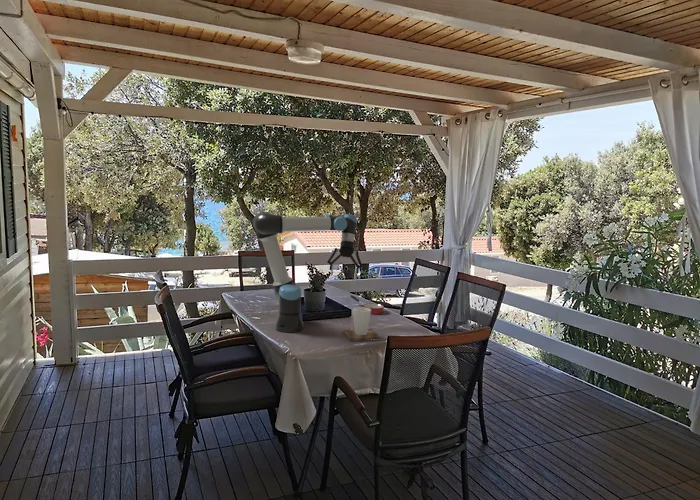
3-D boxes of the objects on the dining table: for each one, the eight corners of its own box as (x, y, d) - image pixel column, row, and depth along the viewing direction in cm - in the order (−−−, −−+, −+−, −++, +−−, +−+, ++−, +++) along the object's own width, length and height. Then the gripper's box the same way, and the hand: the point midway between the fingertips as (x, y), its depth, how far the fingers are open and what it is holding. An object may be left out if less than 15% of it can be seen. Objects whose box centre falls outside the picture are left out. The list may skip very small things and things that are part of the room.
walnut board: (350, 341, 247) (350, 338, 247) (343, 333, 261) (343, 330, 261) (380, 339, 251) (380, 337, 251) (371, 331, 266) (371, 329, 266)
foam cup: (368, 336, 251) (369, 312, 249) (350, 335, 253) (351, 310, 251) (371, 331, 260) (372, 308, 259) (354, 330, 262) (355, 306, 260)
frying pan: (340, 305, 325) (340, 296, 325) (355, 303, 334) (355, 294, 333) (372, 316, 301) (372, 305, 300) (387, 313, 309) (388, 303, 308)
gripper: (367, 244, 286) (363, 280, 283) (325, 239, 284) (321, 275, 281) (369, 243, 278) (365, 280, 276) (326, 237, 276) (321, 274, 273)
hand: (343, 277), depth 278 cm, fingers open, 13 cm apart
